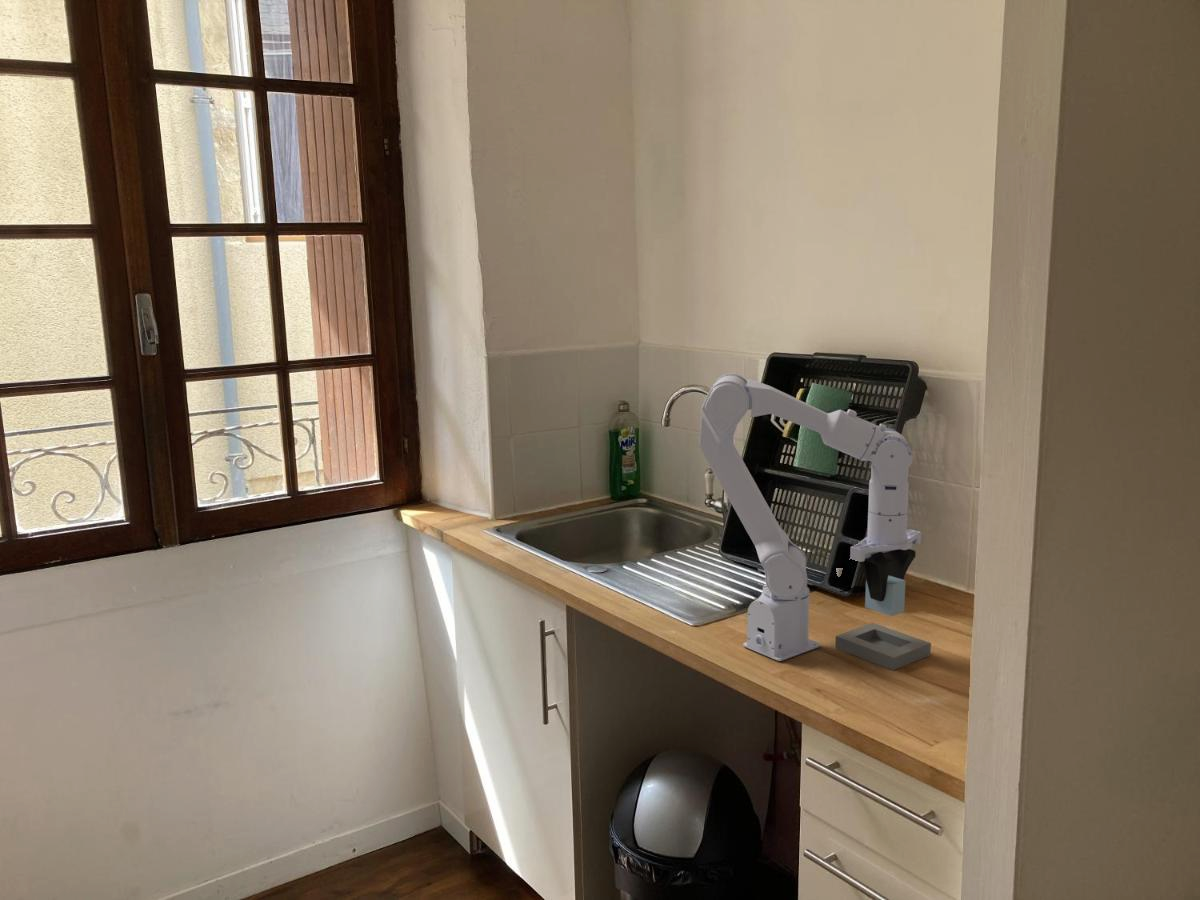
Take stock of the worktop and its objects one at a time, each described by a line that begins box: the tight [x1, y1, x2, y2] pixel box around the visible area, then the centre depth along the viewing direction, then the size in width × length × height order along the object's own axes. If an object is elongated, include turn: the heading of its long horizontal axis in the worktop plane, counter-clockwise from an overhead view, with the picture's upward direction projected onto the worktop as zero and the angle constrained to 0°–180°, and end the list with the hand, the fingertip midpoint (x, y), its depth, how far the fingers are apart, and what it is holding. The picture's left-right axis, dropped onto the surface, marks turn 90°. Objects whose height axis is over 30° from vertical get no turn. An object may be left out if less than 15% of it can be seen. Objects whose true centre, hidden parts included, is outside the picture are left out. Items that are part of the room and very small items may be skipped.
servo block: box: [864, 575, 906, 617], centre depth 153 cm, size 3×5×5 cm, turn 37°
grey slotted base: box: [834, 622, 932, 671], centre depth 154 cm, size 9×11×2 cm
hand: (884, 596), depth 153 cm, fingers closed on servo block, 3 cm apart
